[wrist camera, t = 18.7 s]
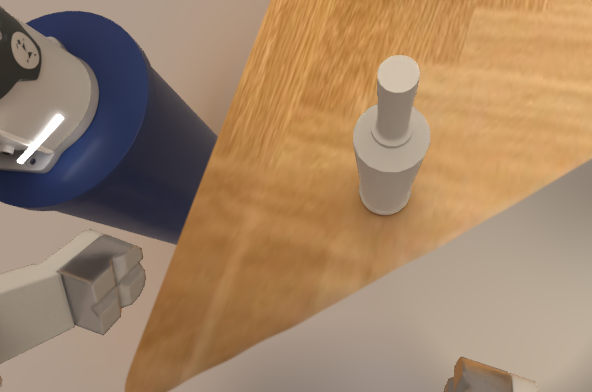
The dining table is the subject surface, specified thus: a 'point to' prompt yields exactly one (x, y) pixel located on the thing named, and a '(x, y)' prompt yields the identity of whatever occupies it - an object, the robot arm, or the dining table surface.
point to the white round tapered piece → (391, 138)
